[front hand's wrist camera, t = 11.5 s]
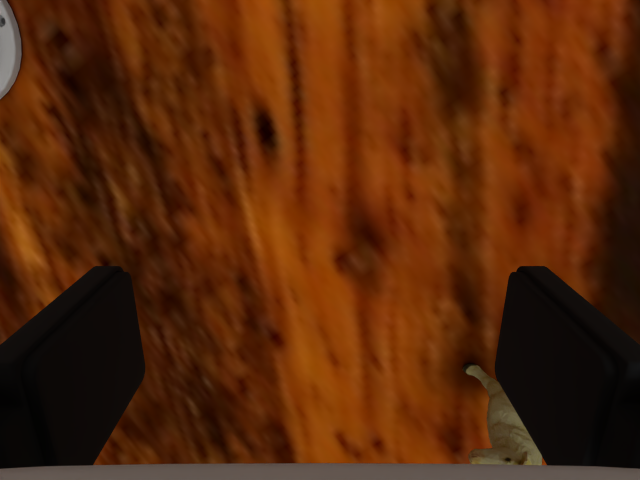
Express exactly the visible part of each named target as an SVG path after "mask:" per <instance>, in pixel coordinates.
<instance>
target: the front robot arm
mask: <svg viewBox="0 0 640 480" xmlns="http://www.w3.org/2000/svg"><path fill="white" fill-rule="evenodd" d="M21 56H22V53H21V38H20V33H19V29H18V24H17V22H16V19H15V17H14V14H13V12H12V9H11V7H10V6H9V4H8V2H7V0H0V99H1V98H2V97H3V96H4V95H5V94H6V93H7V92H8V91H9V90H10V88H11V87H12V85H13V84H14V82H15V80H16V77H17V75H18V72H19V69H20V63H21ZM144 374H145V361H144V355H143V349H142V342H141V336H140V330H139V324H138V317H137V311H136V305H135V299H134V292H133V286H132V280H131V276H130V274H129V273H128V272H124V271H123V269H122V268H121V267H119V266H95V267H93V268H92V269H91V270H90V271H88V272H87V273H86V274H85V275H84V276H82V277H81V278H80V279H79V280H78V281H76V282H75V283H74V284H73V285H72V286H70V287H69V288H68V289H67V290H66V291H64V292H63V293H62V294H61V295H60V296H58V297H57V298H56V299H55V300H54V301H52V302H51V303H50V304H49V305H48V306H46V307H45V308H44V309H43V310H42V311H40V312H39V313H38V314H37V315H36V316H35V317H33V318H32V319H31V320H30V321H29V322H27V323H26V324H25V325H24V326H23V327H21V328H20V329H19V330H18V331H17V332H15V333H14V334H13V335H12V336H11V337H9V338H8V339H7V340H6V341H5V342H3V343H2V344H1V345H0V480H640V345H639V344H638V343H637V342H635V341H634V340H633V339H632V338H631V337H629V336H628V335H627V334H626V333H625V332H623V331H622V330H621V329H620V328H619V327H617V326H616V325H615V324H614V323H613V322H611V321H610V320H609V319H608V318H607V317H605V316H604V315H603V314H602V313H601V312H600V311H598V310H597V309H596V308H595V307H594V306H592V305H591V304H590V303H589V302H588V301H586V300H585V299H584V298H583V297H582V296H580V295H579V294H578V293H577V292H576V291H574V290H573V289H572V288H571V287H570V286H568V285H567V284H566V283H565V282H564V281H562V280H561V279H560V278H559V277H558V276H556V275H555V274H554V273H553V272H552V271H550V270H549V269H548V268H547V267H545V266H521V267H519V268H518V269H517V271H516V272H512V273H511V274H510V276H509V280H508V286H507V292H506V299H505V305H504V311H503V317H502V324H501V330H500V336H499V342H498V349H497V355H496V361H495V374H496V378H497V380H498V382H499V384H500V385H501V387H502V389H503V390H504V392H505V394H506V396H507V397H508V399H509V401H510V402H511V404H512V406H513V408H514V409H515V411H516V413H517V414H518V416H519V418H520V419H521V421H522V423H523V425H524V426H525V428H526V430H527V431H528V433H529V435H530V436H531V438H532V440H533V442H534V443H535V445H536V447H537V448H538V450H539V452H540V454H541V455H542V457H543V459H544V460H545V462H546V464H547V465H498V464H349V463H291V464H142V465H93V464H94V462H95V460H96V459H97V457H98V455H99V454H100V452H101V450H102V448H103V447H104V445H105V443H106V442H107V440H108V438H109V436H110V435H111V433H112V431H113V430H114V428H115V426H116V425H117V423H118V421H119V419H120V418H121V416H122V414H123V413H124V411H125V409H126V408H127V406H128V404H129V402H130V401H131V399H132V397H133V396H134V394H135V392H136V390H137V389H138V387H139V385H140V384H141V382H142V380H143V378H144Z"/></svg>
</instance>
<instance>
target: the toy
mask: <svg viewBox="0 0 640 480" xmlns="http://www.w3.org/2000/svg"><path fill="white" fill-rule="evenodd" d="M463 370H464V372H465V373H467V374H469V375H473V376H475V377H476V378H478V379H479V380H480V381H481V382H482V384H483V386H484V387H485V388H486V389H487V390H488V395H489V397H490V399H489V404H488V412H487V424H488V432H489V439H490V443H491V445H492V447H493V448H490V449H474V450H472V451H471V452H470V454H469V456H468V458H469V461H470V463H471V464H498V465H542V455H541V454H540V452H539V450H538V448H537V447H536V445H535V443H534V442H533V440H532V438H531V436H530V435H529V433H528V431H527V430H526V428H525V426H524V425H523V423H522V421H521V419H520V418H519V416H518V414H517V413H516V411H515V409H514V408H513V406H512V404H511V402H510V401H509V399H508V397H507V396H506V394H505V392H504V390H503V389H502V387H501V385H500V384H499V382H498V381H496V380H495V379H493V378H491V377H489V376H488V375H487V374H486V373H485V372H484V371H483V370H482V369H481V368H480V367H479V366H478V365H475V364H467V365H465V366H464V367H463Z"/></svg>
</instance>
